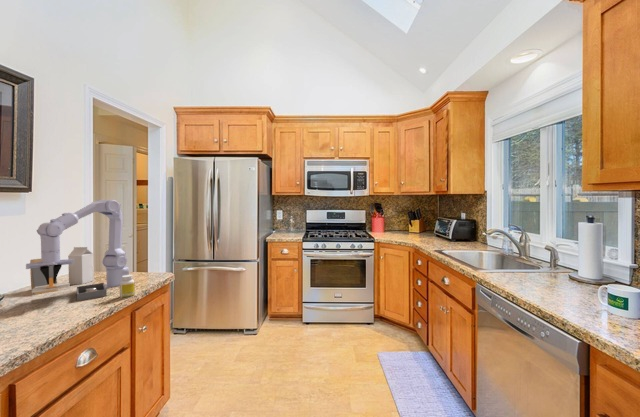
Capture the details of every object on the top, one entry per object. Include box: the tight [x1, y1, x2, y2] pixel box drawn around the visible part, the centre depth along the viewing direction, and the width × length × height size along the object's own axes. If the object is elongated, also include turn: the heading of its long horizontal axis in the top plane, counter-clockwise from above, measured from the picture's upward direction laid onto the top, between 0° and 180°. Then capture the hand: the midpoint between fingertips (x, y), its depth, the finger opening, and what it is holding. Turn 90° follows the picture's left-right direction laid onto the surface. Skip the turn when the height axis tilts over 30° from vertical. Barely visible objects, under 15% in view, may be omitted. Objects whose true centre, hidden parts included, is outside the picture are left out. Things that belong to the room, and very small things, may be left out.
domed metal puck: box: [85, 287, 97, 291], centre depth 132 cm, size 4×4×2 cm
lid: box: [31, 277, 71, 294], centre depth 121 cm, size 11×17×5 cm, turn 41°
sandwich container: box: [29, 258, 60, 296], centre depth 136 cm, size 9×15×15 cm, turn 49°
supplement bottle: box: [119, 274, 136, 300], centre depth 126 cm, size 5×5×10 cm
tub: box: [76, 282, 108, 302], centre depth 129 cm, size 10×14×4 cm
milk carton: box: [67, 246, 94, 286], centre depth 150 cm, size 7×7×19 cm
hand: (51, 283), depth 119 cm, fingers closed on lid
